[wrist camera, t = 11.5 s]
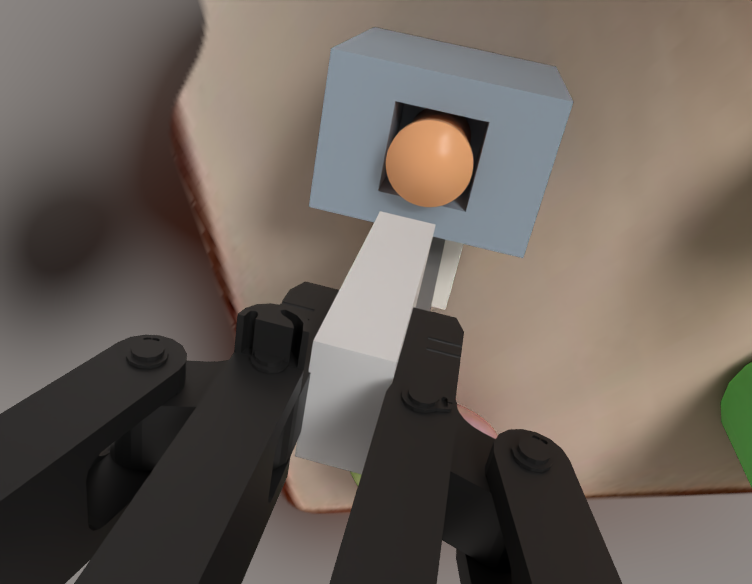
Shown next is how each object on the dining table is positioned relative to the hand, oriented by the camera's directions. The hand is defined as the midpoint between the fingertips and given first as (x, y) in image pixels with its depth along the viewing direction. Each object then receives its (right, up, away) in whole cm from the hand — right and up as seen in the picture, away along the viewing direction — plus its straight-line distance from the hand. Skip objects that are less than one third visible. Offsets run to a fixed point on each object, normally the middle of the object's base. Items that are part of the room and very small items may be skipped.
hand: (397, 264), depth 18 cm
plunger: (+2, +7, +14) cm, 16 cm away
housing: (+4, +9, +19) cm, 22 cm away
